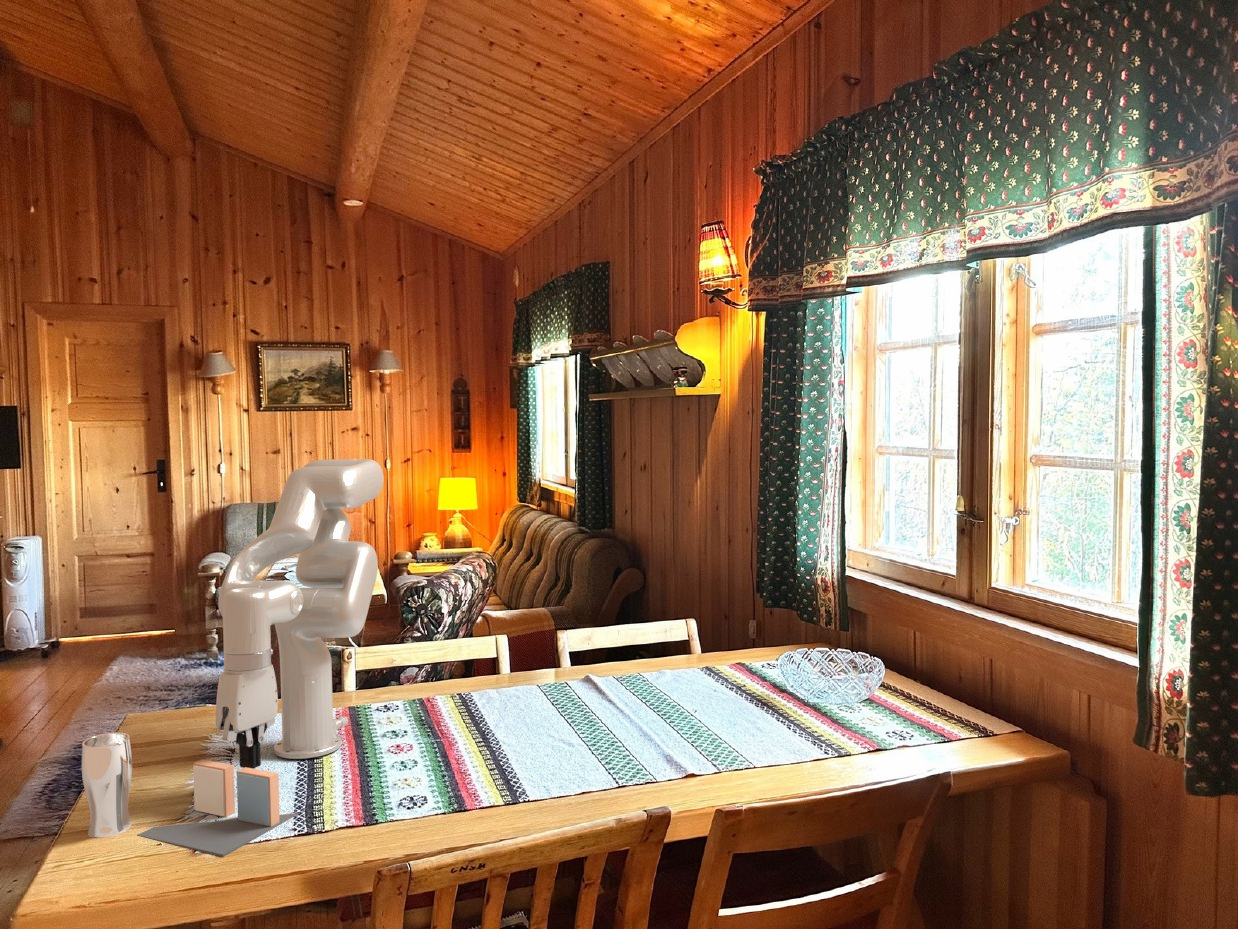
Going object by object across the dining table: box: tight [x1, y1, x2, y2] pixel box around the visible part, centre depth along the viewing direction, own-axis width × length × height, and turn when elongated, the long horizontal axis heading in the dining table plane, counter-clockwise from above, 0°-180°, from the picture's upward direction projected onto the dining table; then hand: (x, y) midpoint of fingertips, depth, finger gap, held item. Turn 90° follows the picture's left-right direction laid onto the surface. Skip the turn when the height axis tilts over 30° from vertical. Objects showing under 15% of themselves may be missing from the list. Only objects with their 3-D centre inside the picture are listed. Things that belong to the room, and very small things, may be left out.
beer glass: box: [81, 731, 133, 838], centre depth 146 cm, size 7×7×15 cm
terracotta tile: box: [192, 759, 236, 818], centre depth 152 cm, size 2×7×8 cm, turn 66°
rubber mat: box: [137, 812, 300, 858], centre depth 149 cm, size 18×18×1 cm
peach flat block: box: [236, 767, 281, 827], centre depth 148 cm, size 2×7×8 cm, turn 66°
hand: (250, 766), depth 159 cm, fingers closed
